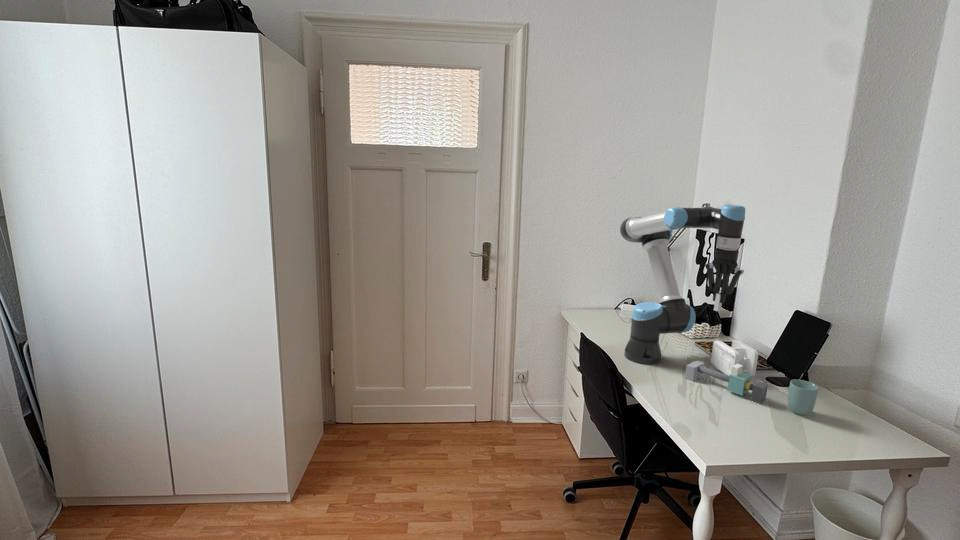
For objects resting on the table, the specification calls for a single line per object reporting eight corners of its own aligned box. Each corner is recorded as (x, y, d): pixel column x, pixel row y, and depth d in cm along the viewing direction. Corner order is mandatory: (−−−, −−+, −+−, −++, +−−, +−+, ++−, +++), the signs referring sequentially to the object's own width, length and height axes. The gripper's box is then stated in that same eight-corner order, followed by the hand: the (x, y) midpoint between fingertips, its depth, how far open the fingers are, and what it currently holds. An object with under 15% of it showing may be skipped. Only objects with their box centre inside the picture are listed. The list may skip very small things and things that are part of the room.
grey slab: (685, 378, 177) (686, 365, 175) (695, 372, 182) (696, 360, 180) (692, 381, 174) (694, 368, 173) (702, 375, 179) (704, 362, 178)
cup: (813, 420, 148) (819, 392, 146) (785, 413, 152) (790, 385, 150) (812, 410, 155) (817, 383, 152) (784, 403, 159) (789, 377, 156)
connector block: (750, 400, 160) (753, 385, 159) (756, 396, 163) (758, 381, 162) (759, 404, 158) (762, 388, 157) (765, 400, 161) (768, 384, 160)
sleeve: (727, 390, 166) (730, 367, 164) (734, 385, 169) (738, 363, 167) (741, 395, 162) (745, 372, 160) (748, 390, 165) (752, 367, 163)
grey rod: (694, 371, 176) (695, 365, 176) (697, 370, 178) (698, 363, 177) (753, 392, 160) (754, 386, 160) (756, 390, 162) (757, 383, 161)
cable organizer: (756, 380, 176) (761, 352, 174) (730, 380, 175) (734, 352, 173) (732, 364, 191) (736, 338, 188) (708, 364, 190) (712, 338, 188)
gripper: (704, 246, 167) (695, 307, 173) (741, 252, 157) (730, 317, 163) (713, 244, 172) (704, 303, 178) (751, 250, 162) (739, 313, 168)
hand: (717, 310), depth 170 cm, fingers closed
